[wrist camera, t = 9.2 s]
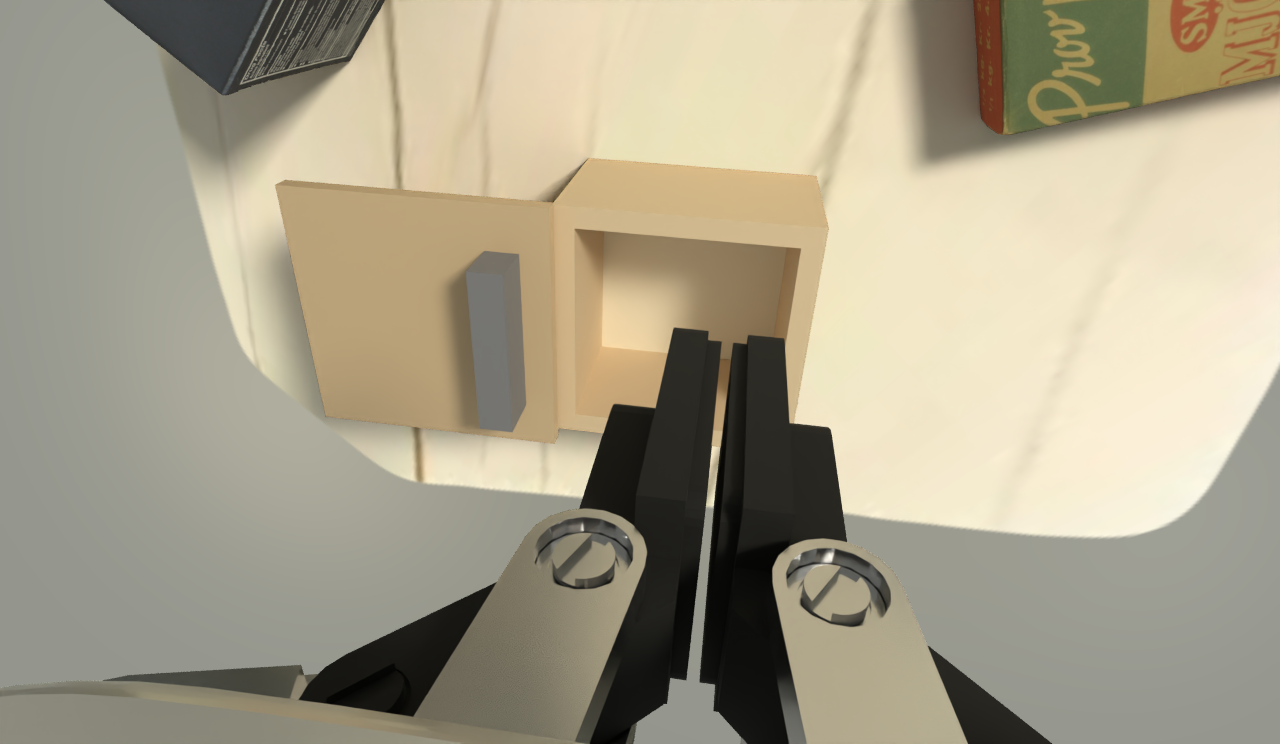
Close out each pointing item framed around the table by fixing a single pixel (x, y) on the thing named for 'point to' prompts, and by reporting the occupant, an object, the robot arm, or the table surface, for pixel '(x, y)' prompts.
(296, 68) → the small box
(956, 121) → the table surface
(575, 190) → the shipping box
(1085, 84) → the carton
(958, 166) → the table surface
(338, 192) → the box lid
